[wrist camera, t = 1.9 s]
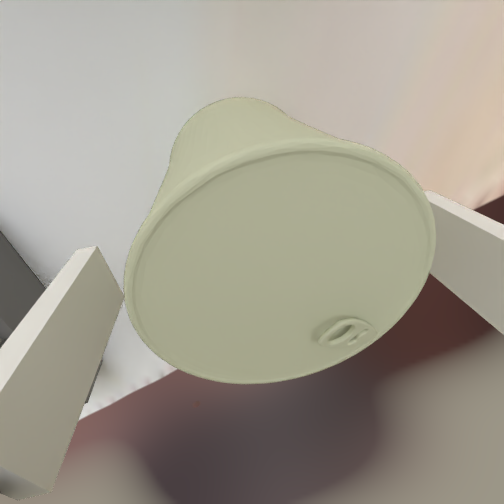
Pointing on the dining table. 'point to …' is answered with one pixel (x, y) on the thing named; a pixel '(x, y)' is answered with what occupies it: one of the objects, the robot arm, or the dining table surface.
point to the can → (274, 248)
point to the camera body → (18, 292)
